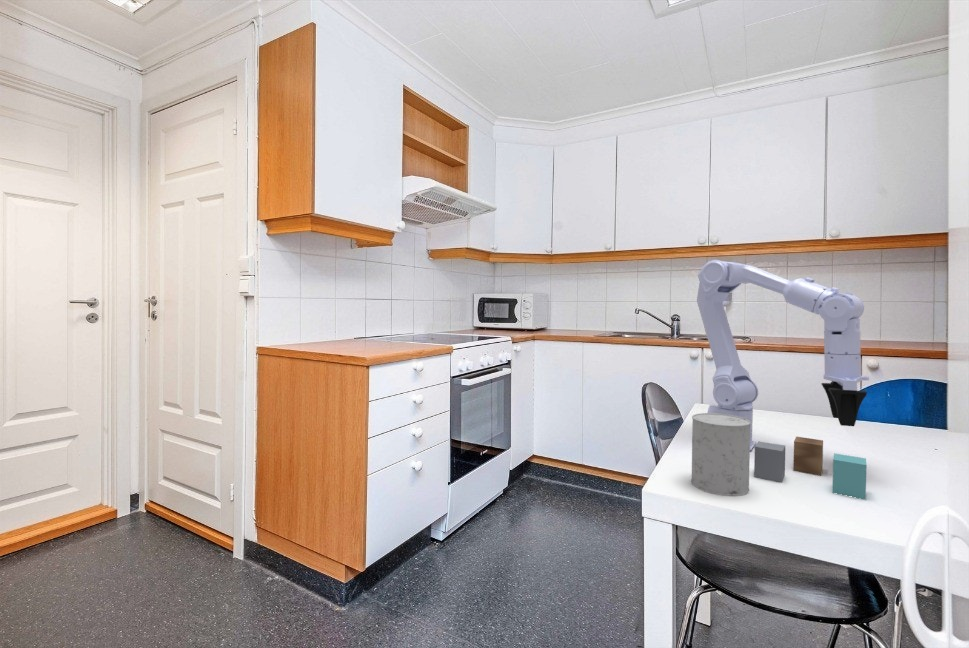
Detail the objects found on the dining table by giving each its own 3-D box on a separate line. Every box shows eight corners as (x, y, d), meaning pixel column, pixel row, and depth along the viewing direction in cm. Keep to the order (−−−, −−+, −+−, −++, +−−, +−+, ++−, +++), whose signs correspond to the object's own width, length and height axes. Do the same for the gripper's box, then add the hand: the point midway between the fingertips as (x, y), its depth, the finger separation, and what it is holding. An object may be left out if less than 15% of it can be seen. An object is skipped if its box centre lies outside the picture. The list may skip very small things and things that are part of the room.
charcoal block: (754, 477, 88) (754, 446, 88) (757, 470, 92) (758, 441, 91) (781, 483, 85) (782, 451, 85) (784, 476, 89) (785, 445, 89)
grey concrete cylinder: (748, 500, 77) (749, 428, 77) (687, 488, 82) (688, 421, 82) (750, 482, 86) (751, 417, 85) (694, 472, 91) (695, 410, 90)
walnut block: (793, 470, 92) (794, 441, 91) (795, 465, 95) (796, 436, 95) (821, 476, 89) (821, 445, 89) (822, 469, 92) (823, 440, 92)
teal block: (832, 493, 81) (833, 459, 80) (833, 485, 84) (834, 453, 84) (865, 500, 78) (866, 465, 78) (865, 491, 81) (866, 458, 81)
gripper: (877, 356, 83) (878, 431, 83) (859, 351, 96) (860, 416, 96) (829, 356, 87) (830, 427, 87) (817, 351, 99) (818, 413, 99)
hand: (843, 421), depth 92 cm, fingers open, 7 cm apart
